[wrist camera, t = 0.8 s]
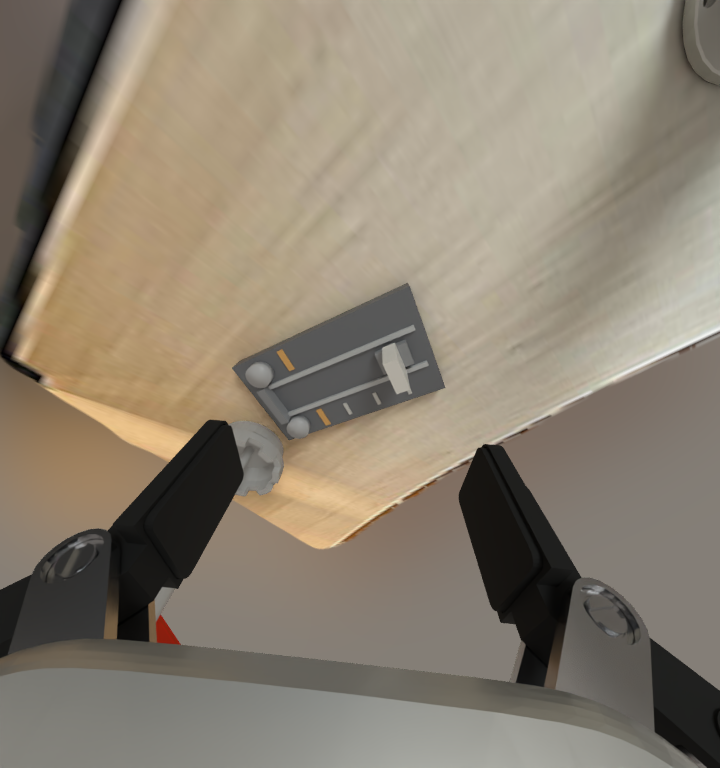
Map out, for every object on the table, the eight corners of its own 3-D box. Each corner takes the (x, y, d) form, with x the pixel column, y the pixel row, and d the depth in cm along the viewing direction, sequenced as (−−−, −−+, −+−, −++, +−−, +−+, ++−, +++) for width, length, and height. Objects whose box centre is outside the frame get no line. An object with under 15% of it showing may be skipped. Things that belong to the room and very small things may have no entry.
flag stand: (204, 449, 45) (-25, 732, 20) (230, 402, 39) (-48, 716, 14) (270, 480, 49) (147, 758, 23) (302, 441, 43) (187, 754, 17)
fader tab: (403, 335, 30) (408, 354, 25) (414, 363, 32) (421, 385, 27) (372, 348, 31) (372, 368, 26) (385, 374, 33) (386, 397, 28)
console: (407, 282, 29) (411, 288, 26) (442, 380, 35) (448, 393, 32) (239, 361, 36) (226, 373, 33) (292, 431, 42) (285, 447, 39)
